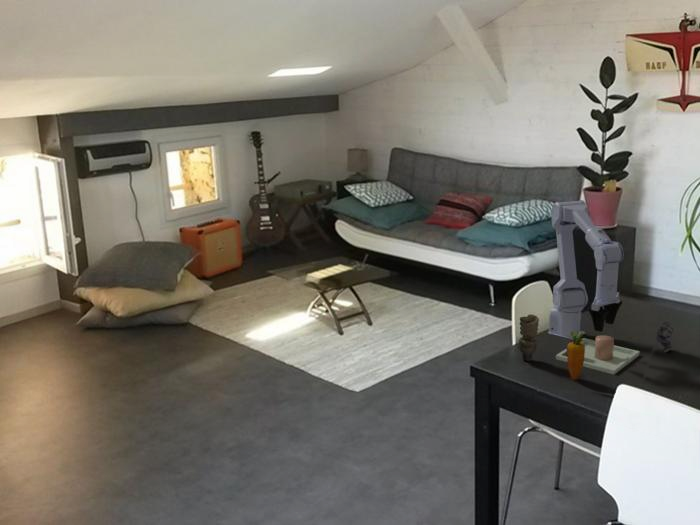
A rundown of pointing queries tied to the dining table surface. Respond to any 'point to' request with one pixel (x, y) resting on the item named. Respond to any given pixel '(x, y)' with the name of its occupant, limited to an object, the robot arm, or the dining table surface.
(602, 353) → the tan cylinder
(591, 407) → the dining table surface
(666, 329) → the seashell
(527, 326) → the brown carved statue
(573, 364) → the carrot
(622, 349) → the tray
